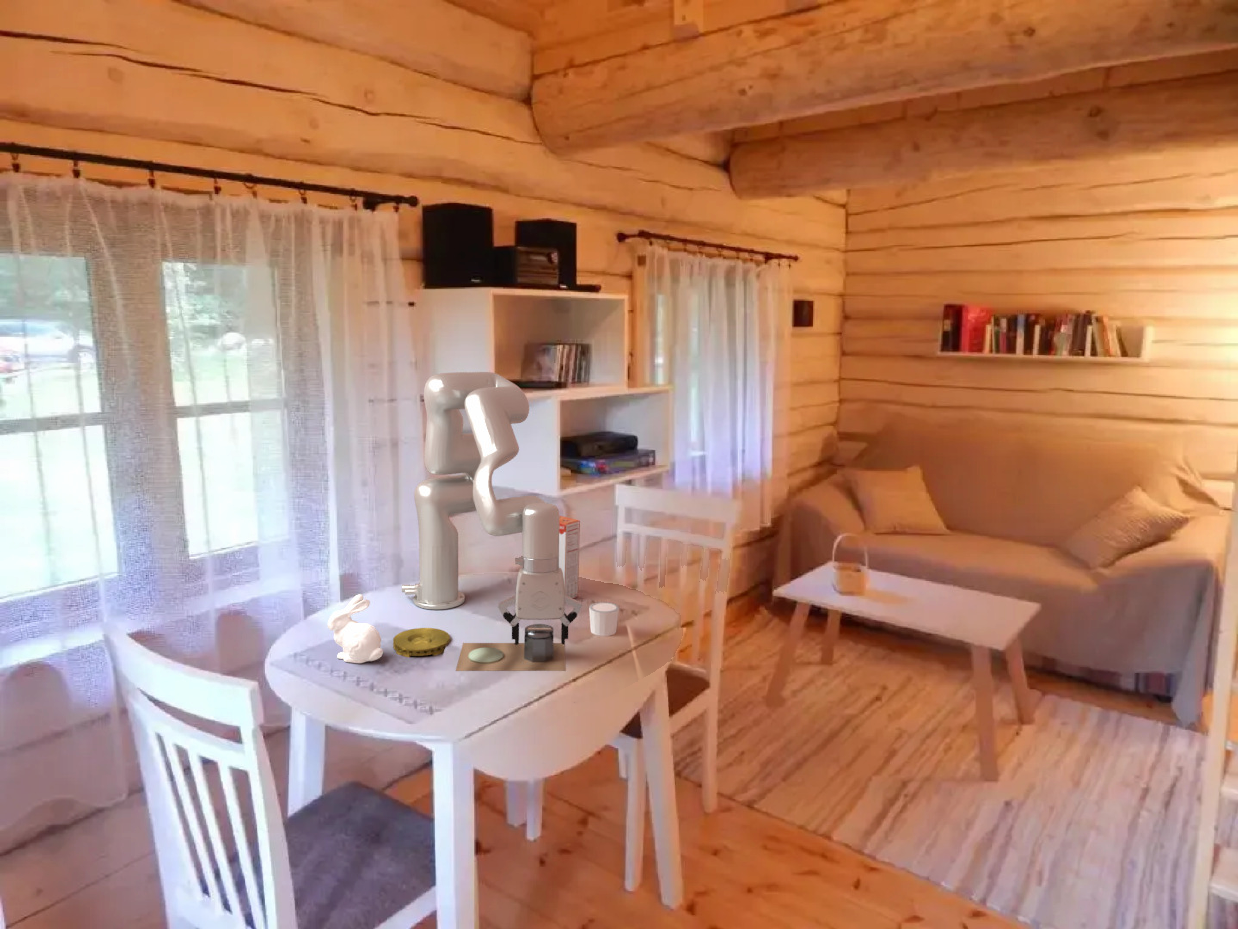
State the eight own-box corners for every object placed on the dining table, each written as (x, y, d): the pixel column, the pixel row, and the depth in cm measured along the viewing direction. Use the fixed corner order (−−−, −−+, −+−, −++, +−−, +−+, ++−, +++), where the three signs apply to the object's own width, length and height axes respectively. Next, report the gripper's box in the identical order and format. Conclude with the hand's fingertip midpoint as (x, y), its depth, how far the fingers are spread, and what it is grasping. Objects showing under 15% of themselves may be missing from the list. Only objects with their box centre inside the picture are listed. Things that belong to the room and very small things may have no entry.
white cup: (601, 627, 193) (602, 599, 192) (624, 635, 189) (625, 606, 188) (582, 636, 188) (582, 607, 187) (605, 644, 184) (606, 614, 182)
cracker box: (523, 590, 217) (524, 513, 213) (539, 585, 221) (540, 509, 218) (563, 603, 208) (565, 523, 205) (579, 597, 213) (581, 519, 209)
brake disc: (392, 660, 172) (392, 651, 172) (394, 638, 184) (394, 629, 183) (450, 657, 175) (450, 647, 175) (449, 635, 187) (448, 626, 186)
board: (455, 676, 165) (455, 649, 164) (463, 648, 179) (463, 623, 178) (565, 676, 167) (565, 649, 166) (564, 648, 181) (564, 623, 180)
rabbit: (323, 658, 172) (321, 603, 170) (355, 642, 180) (353, 590, 178) (369, 670, 167) (368, 614, 165) (399, 653, 175) (398, 599, 173)
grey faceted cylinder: (523, 662, 170) (524, 634, 169) (524, 650, 176) (525, 623, 175) (553, 662, 171) (553, 634, 170) (553, 650, 177) (553, 623, 175)
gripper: (497, 569, 165) (497, 649, 168) (583, 568, 167) (581, 649, 170) (499, 558, 173) (499, 635, 175) (582, 558, 174) (580, 635, 177)
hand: (540, 642), depth 172 cm, fingers open, 9 cm apart
